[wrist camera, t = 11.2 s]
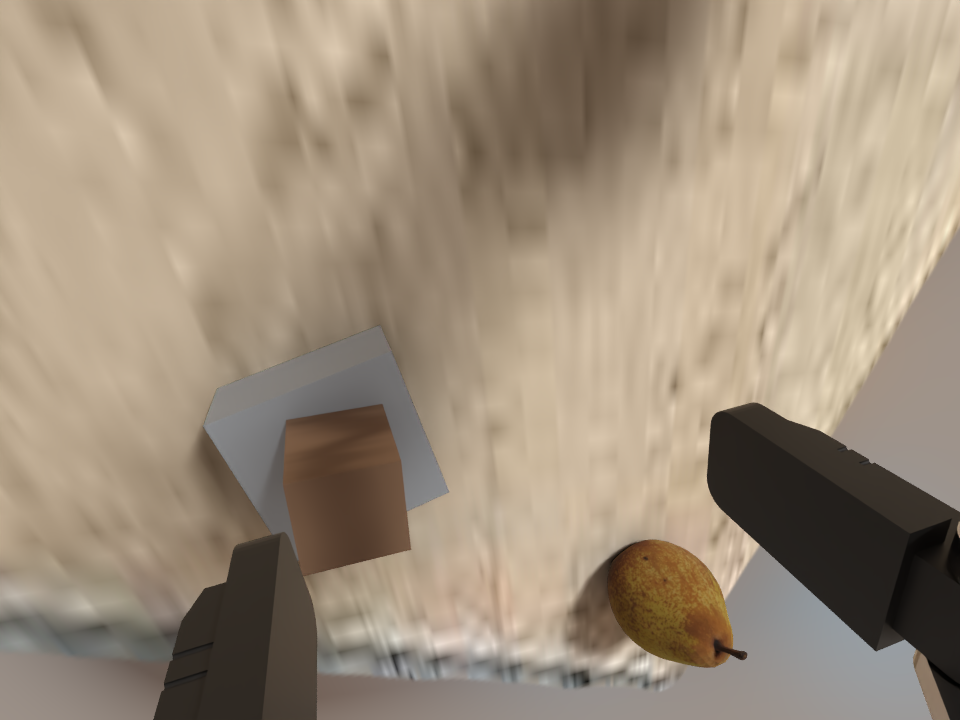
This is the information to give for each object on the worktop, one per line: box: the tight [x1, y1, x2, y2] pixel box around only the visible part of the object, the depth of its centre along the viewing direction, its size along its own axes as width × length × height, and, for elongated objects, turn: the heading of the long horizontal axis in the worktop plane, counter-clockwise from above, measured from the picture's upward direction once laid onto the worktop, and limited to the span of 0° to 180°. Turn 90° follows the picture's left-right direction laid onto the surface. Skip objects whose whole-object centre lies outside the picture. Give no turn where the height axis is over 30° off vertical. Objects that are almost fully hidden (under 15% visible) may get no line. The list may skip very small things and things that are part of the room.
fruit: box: [608, 540, 747, 668], centre depth 41 cm, size 9×9×12 cm
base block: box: [203, 325, 449, 561], centre depth 31 cm, size 10×10×5 cm
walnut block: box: [283, 404, 411, 576], centre depth 26 cm, size 5×5×6 cm
